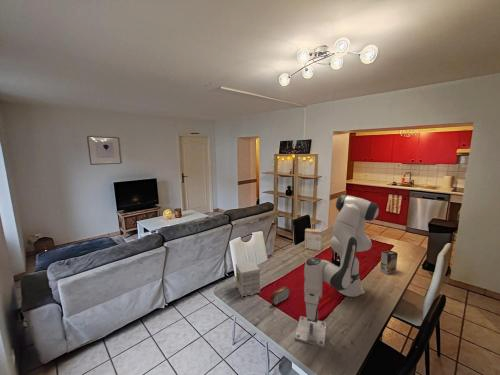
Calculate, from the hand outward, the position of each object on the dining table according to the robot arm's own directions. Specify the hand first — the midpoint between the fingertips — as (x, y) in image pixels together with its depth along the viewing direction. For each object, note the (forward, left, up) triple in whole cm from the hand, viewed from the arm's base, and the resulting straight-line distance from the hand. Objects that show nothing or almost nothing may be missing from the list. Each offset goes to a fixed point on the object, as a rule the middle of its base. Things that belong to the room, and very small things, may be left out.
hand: (312, 315), depth 113 cm
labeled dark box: (0, 0, -2) cm, 2 cm away
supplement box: (-23, -46, -10) cm, 52 cm away
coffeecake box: (-106, -12, -10) cm, 107 cm away
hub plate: (-1, -1, -10) cm, 10 cm away
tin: (-19, -22, -10) cm, 30 cm away
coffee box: (-82, +47, -10) cm, 95 cm away
